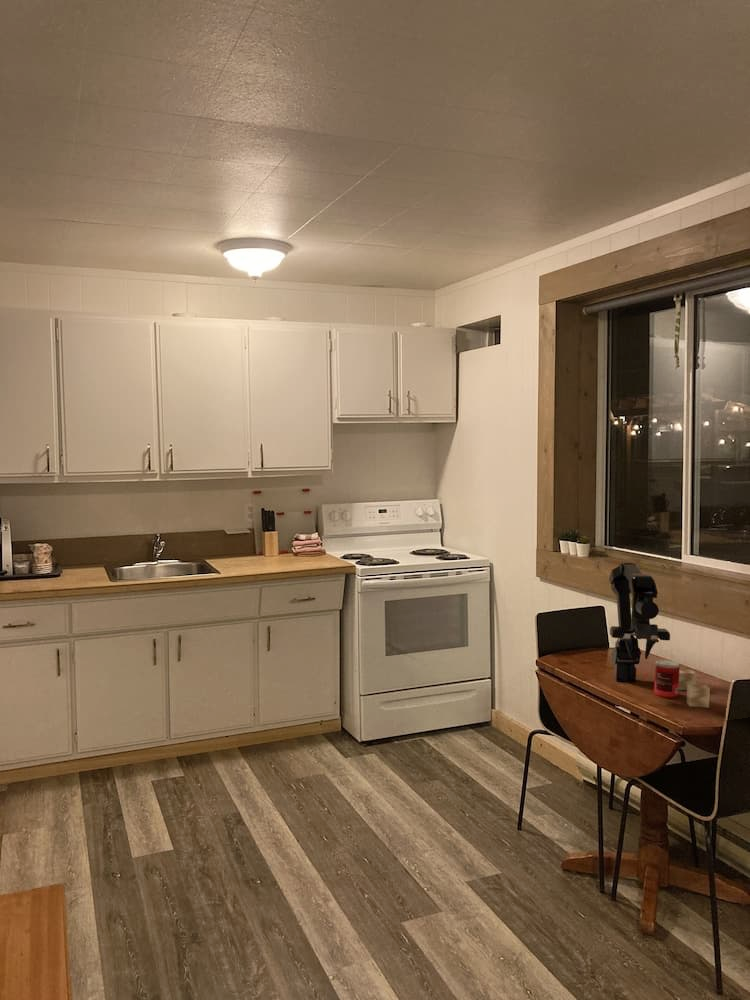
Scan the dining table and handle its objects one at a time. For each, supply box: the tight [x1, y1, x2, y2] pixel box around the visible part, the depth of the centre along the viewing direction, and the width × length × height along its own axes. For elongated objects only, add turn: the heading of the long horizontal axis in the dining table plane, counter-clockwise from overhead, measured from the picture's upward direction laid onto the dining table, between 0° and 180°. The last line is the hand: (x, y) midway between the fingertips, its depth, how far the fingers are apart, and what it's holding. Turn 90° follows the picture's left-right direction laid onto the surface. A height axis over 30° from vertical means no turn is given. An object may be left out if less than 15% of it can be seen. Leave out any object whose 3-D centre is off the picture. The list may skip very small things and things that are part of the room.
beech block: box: [686, 684, 711, 708], centre depth 272 cm, size 6×4×6 cm, turn 83°
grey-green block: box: [678, 669, 697, 691], centre depth 289 cm, size 6×4×6 cm, turn 83°
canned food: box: [653, 659, 681, 699], centre depth 281 cm, size 8×8×11 cm
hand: (638, 658), depth 282 cm, fingers open, 5 cm apart
